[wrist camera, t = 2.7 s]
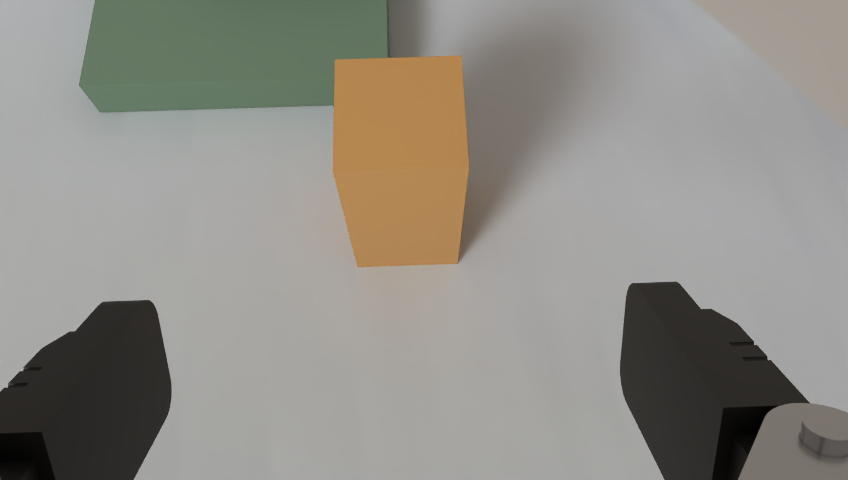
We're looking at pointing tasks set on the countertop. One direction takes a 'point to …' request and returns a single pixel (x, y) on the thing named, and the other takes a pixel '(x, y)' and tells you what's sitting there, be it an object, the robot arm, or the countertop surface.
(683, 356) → the robot arm
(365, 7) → the green base plate
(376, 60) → the chute block
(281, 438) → the countertop surface
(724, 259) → the countertop surface
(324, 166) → the countertop surface
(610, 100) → the countertop surface
